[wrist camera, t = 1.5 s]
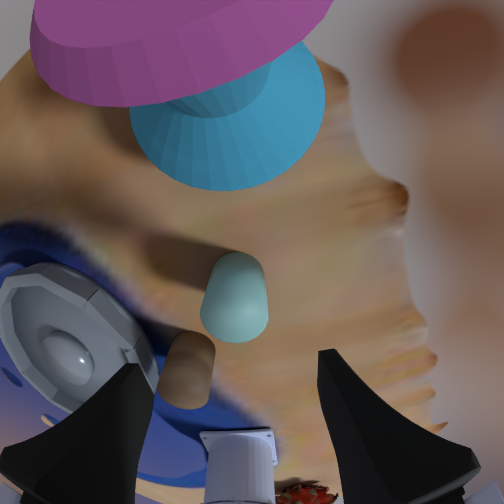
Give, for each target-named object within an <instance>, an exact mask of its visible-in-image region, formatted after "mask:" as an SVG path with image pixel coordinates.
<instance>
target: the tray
mask: <svg viewBox="0 0 504 504" xmlns="http://www.w3.org/2000/svg"><path fill="white" fill-rule="evenodd" d="M0 338H1V340H2V342H3V344H4V346H5V348H6V350H7V351H8V353H9V355H10V357H11V358H12V360H13V362H14V364H15V365H16V367H17V368H18V370H19V371H20V373H21V374H22V375H23V377H24V378H25V379H26V380H27V381H28V382H29V383H30V384H31V385H32V386H33V387H34V388H35V389H36V390H38V391H39V393H40V394H42V395H43V396H44V397H45V398H46V399H47V400H48V401H49V402H50V403H52V404H53V405H55V406H57V407H59V408H60V409H62V410H64V411H65V412H67V413H69V414H72V413H73V412H74V411H76V410H77V409H78V408H79V407H80V406H81V405H82V404H84V403H85V402H86V401H87V400H88V399H89V398H90V397H91V396H93V395H94V394H95V393H96V392H97V391H98V390H99V389H100V388H101V387H102V386H103V385H104V384H105V383H106V382H107V381H108V380H109V379H110V378H111V377H112V376H113V375H114V374H115V373H116V372H117V371H118V370H119V369H120V368H121V367H122V366H123V365H124V364H126V363H139V365H140V367H141V369H142V371H143V373H144V375H145V377H146V379H147V381H148V383H149V385H150V387H151V389H152V391H153V393H154V395H155V392H156V389H157V383H158V380H159V367H158V361H157V358H156V355H155V352H154V349H153V347H152V345H151V343H150V340H149V338H148V337H147V335H146V333H145V332H144V330H143V328H142V327H141V326H140V324H139V323H138V321H137V320H136V319H135V317H134V316H133V315H132V314H131V313H130V311H129V310H128V309H127V308H126V307H125V306H124V305H123V304H122V303H121V302H120V301H119V300H118V299H117V298H116V297H115V296H114V295H113V294H112V293H111V292H110V291H108V290H107V289H106V288H105V287H104V286H102V285H101V284H100V283H98V282H97V281H95V280H94V279H93V278H91V277H89V276H88V275H86V274H84V273H82V272H81V271H79V270H76V269H74V268H72V267H70V266H67V265H63V264H60V263H54V262H39V263H35V264H32V265H30V266H28V267H26V268H21V269H18V270H16V271H14V272H13V273H12V274H10V275H9V276H7V277H6V278H5V280H4V282H3V284H2V287H1V289H0Z"/></svg>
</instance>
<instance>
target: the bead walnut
mask: <svg viewBox="0 0 504 504" xmlns="http://www.w3.org/2000/svg"><path fill="white" fill-rule="evenodd" d="M214 358H215V346H214V344H213V342H212V341H211V340H210V339H209V338H208V337H206V336H205V335H203V334H201V333H198V332H193V331H186V332H182V333H180V334H178V335H177V336H175V338H174V339H173V341H172V344H171V347H170V349H169V352H168V355H167V358H166V361H165V363H164V366H163V369H162V372H161V375H160V378H159V380H158V383H157V391H158V394H159V395H160V397H161V398H162V399H163V400H165V401H166V402H167V403H169V404H171V405H173V406H175V407H178V408H182V409H196V408H200V407H202V406H204V405H205V404H206V403H207V401H208V398H209V392H210V385H211V378H212V371H213V364H214Z"/></svg>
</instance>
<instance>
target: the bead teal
mask: <svg viewBox="0 0 504 504" xmlns="http://www.w3.org/2000/svg"><path fill="white" fill-rule="evenodd" d="M200 317H201V321H202V324H203V326H204V327H205V329H206V330H207V331H208V332H209V333H210V334H211V335H212V336H214V337H215V338H217V339H219V340H221V341H225V342H229V343H242V342H247V341H249V340H252V339H254V338H255V337H257V336H258V335H259V334H261V333H262V331H263V330H264V329H265V327H266V325H267V322H268V306H267V297H266V288H265V279H264V272H263V268H262V266H261V264H260V263H259V262H258V261H257V260H256V259H255V258H254V257H253V256H251V255H249V254H246V253H242V252H232V253H228V254H226V255H224V256H222V257H221V258H219V259H218V260H217V261H216V263H215V264H214V266H213V269H212V272H211V276H210V279H209V282H208V286H207V289H206V292H205V296H204V299H203V302H202V306H201V310H200Z"/></svg>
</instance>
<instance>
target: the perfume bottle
mask: <svg viewBox="0 0 504 504" xmlns="http://www.w3.org/2000/svg"><path fill="white" fill-rule="evenodd" d="M333 1H334V0H35V4H34V9H33V15H32V23H31V31H30V48H31V56H32V60H33V62H34V64H35V67H36V69H37V71H38V74H39V75H40V76H41V78H42V79H43V80H44V81H45V82H46V83H47V84H48V86H49V87H50V88H51V89H53V90H54V91H56V92H58V93H59V94H61V95H63V96H64V97H66V98H68V99H70V100H73V101H77V102H81V103H85V104H88V105H92V106H106V107H129V113H130V120H131V126H132V129H133V132H134V134H135V137H136V140H137V142H138V144H139V145H140V147H141V149H142V150H143V152H144V153H145V155H146V156H147V158H148V159H149V160H150V161H151V162H152V163H153V164H154V165H155V166H156V167H157V168H158V169H159V170H161V171H162V172H164V173H165V174H167V175H168V176H170V177H171V178H173V179H174V180H177V181H179V182H182V183H184V184H187V185H189V186H191V187H196V188H201V189H206V190H211V191H233V190H239V189H245V188H251V187H253V186H256V185H259V184H262V183H264V182H267V181H270V180H271V179H273V178H275V177H276V176H278V175H280V174H281V173H283V172H285V171H286V170H288V169H289V168H290V167H291V166H292V165H293V164H294V163H296V162H297V161H298V160H299V159H300V158H301V157H302V156H303V154H304V153H305V152H306V150H307V149H308V148H309V146H310V145H311V144H312V142H313V140H314V138H315V136H316V134H317V132H318V130H319V128H320V125H321V121H322V117H323V113H324V108H325V89H324V84H323V79H322V75H321V72H320V69H319V67H318V65H317V63H316V61H315V58H314V57H313V55H312V54H311V52H310V51H309V50H308V48H307V47H306V46H305V45H304V43H303V42H302V40H303V39H304V38H305V37H306V36H307V35H308V34H309V33H310V32H311V30H313V29H314V28H315V26H316V25H317V24H318V23H319V22H320V21H321V20H322V19H323V18H324V16H325V15H326V13H327V11H328V9H329V8H330V6H331V4H332V2H333Z"/></svg>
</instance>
